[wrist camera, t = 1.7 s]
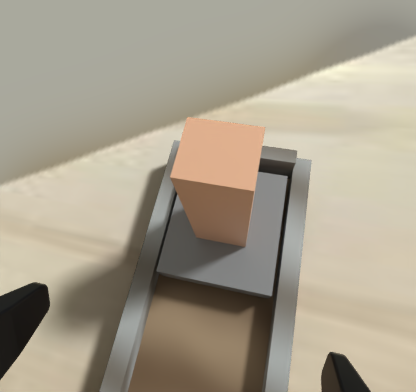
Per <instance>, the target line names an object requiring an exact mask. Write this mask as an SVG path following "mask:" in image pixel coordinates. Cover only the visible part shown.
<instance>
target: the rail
mask: <svg viewBox="0 0 416 392" xmlns="http://www.w3.org/2000/svg"><path fill="white" fill-rule="evenodd" d="M179 144H180V141H176V140H174V142H173V146H172V149H171V153H170V156H169V159H168V163H167V166H166V169H165V173H164V176H163V179H162V183H161V186H160V189H159V193H158V196H157V200H156V203H155V206H154V210H153V213H152V216H151V220H150V223H149V226H148V230H147V233H146V236H145V240H144V243H143V247H142V250H141V253H140V257H139V260H138V263H137V267H136V270H135V273H134V277H133V280H132V283H131V287H130V290H129V294H128V297H127V300H126V304H125V307H124V310H123V314H122V317H121V320H120V324H119V327H118V331H117V334H116V337H115V341H114V344H113V347H112V351H111V354H110V357H109V361H108V364H107V367H106V371H105V374H104V378H103V381H102V384H101V388H100V391H99V392H288V383H289V373H290V364H291V354H292V344H293V335H294V325H295V315H296V306H297V296H298V286H299V276H300V267H301V257H302V247H303V238H304V228H305V218H306V209H307V199H308V189H309V180H310V170H311V160H307V159H300V158H296V157H297V151H296V150H289V149H282V148H275V147H268V146H262V151H261V157H260V163H259V169H258V172H263V173H270V174H276V175H283V176H288V178H287V185H286V193H285V200H284V208H283V215H282V223H281V230H280V238H279V245H278V253H277V260H276V268H275V276H274V283H273V291H272V296H271V297H270V298H263V297H258V296H254V295H249V294H245V293H240V292H235V291H231V290H226V289H221V288H217V287H212V286H208V285H203V284H198V283H194V282H189V281H185V280H180V279H175V278H171V277H166V276H163V275H161V274H160V273H158V272H156V270H157V267H158V263H159V259H160V256H161V252H162V248H163V245H164V241H165V237H166V234H167V230H168V226H169V223H170V219H171V215H172V212H173V208H174V204H175V201H176V197H177V192H176V190H175V188H174V185H173V183H172V181H171V178H170V176H171V172H172V169H173V165H174V162H175V158H176V155H177V151H178V148H179Z"/></svg>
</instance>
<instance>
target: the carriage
mask: <svg viewBox="0 0 416 392" xmlns="http://www.w3.org/2000/svg"><path fill="white" fill-rule="evenodd" d="M264 132H265V127H259V126H252V125H244V124H236V123H229V122H221V121H214V120H206V119H199V118H191V117H187V120H186V124H185V127H184V131H183V134H182V137H181V141H180V144H179V148H178V151H177V155H176V158H175V162H174V165H173V169H172V172H171V176H170V178H171V181H172V183H173V185H174V188H175V190H176V192H177V197H176V201H175V204H174V208H173V212H172V215H171V219H170V223H169V226H168V230H167V234H166V237H165V241H164V245H163V248H162V252H161V256H160V259H159V263H158V267H157V270H156V272H158V273H160V274H161V275H163V276H166V277H171V278H175V279H180V280H185V281H189V282H194V283H198V284H203V285H208V286H212V287H217V288H221V289H226V290H231V291H235V292H240V293H245V294H249V295H254V296H258V297H263V298H270V297H271V296H272V291H273V283H274V276H275V268H276V260H277V253H278V245H279V238H280V230H281V223H282V215H283V208H284V200H285V193H286V185H287V178H288V176H283V175H276V174H270V173H263V172H258V169H259V163H260V157H261V151H262V144H263V138H264Z"/></svg>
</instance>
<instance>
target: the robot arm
mask: <svg viewBox="0 0 416 392" xmlns="http://www.w3.org/2000/svg"><path fill="white" fill-rule="evenodd" d="M49 307H50V300H49V293H48V287H47V286H46V285H45V284H41V283H37V282H34V283H31V284H28V285H26V286H23V287H21V288H19V289H16V290H14V291H11V292H9V293H7V294H4V295H2V296H0V380H1V378H2V377H3V376H4V374H5V373H6V372H7V371H8V369H9V368H10V367H11V365H12V364H13V363H14V362H15V360H16V359H17V357H18V356H19V355H20V353H21V352H22V350H23V349H24V348H25V346H26V344H27V343H28V341H29V340H30V338H31V337H32V335H33V334H34V332H35V330H36V329H37V327H38V326H39V324H40V323H41V321H42V320H43V318H44V316H45V315H46V313H47V312H48V310H49ZM321 386H322V392H371V391H370V390H369V388H368V387H367V385H366V384H365V383H364V381H363V380H362V378H361V377H360V375H359V374H358V373H357V371H356V370H355V368H354V367H353V366H352V364H351V363H350V361H349V360H348V359H347V357H346V356H345V355H343V354H339V353H334V352H330V353H329V354H328V356H327V359H326V362H325V364H324V367H323V370H322V375H321Z"/></svg>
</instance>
